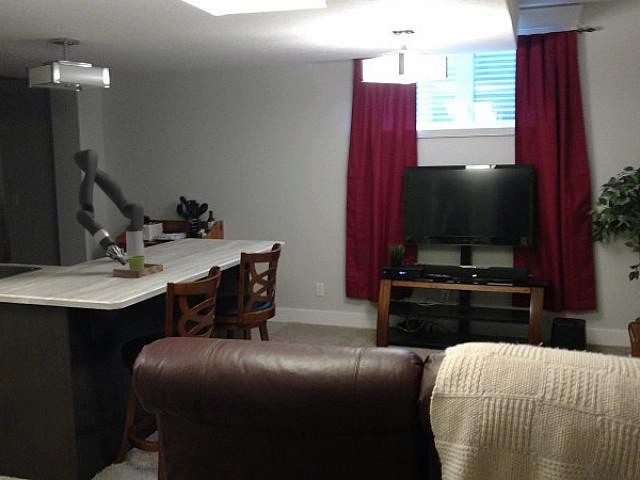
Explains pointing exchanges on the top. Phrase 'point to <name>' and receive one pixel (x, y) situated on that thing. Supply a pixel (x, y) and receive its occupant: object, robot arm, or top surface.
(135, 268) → the plant pot
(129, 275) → the wooden u bracket
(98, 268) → the top surface
